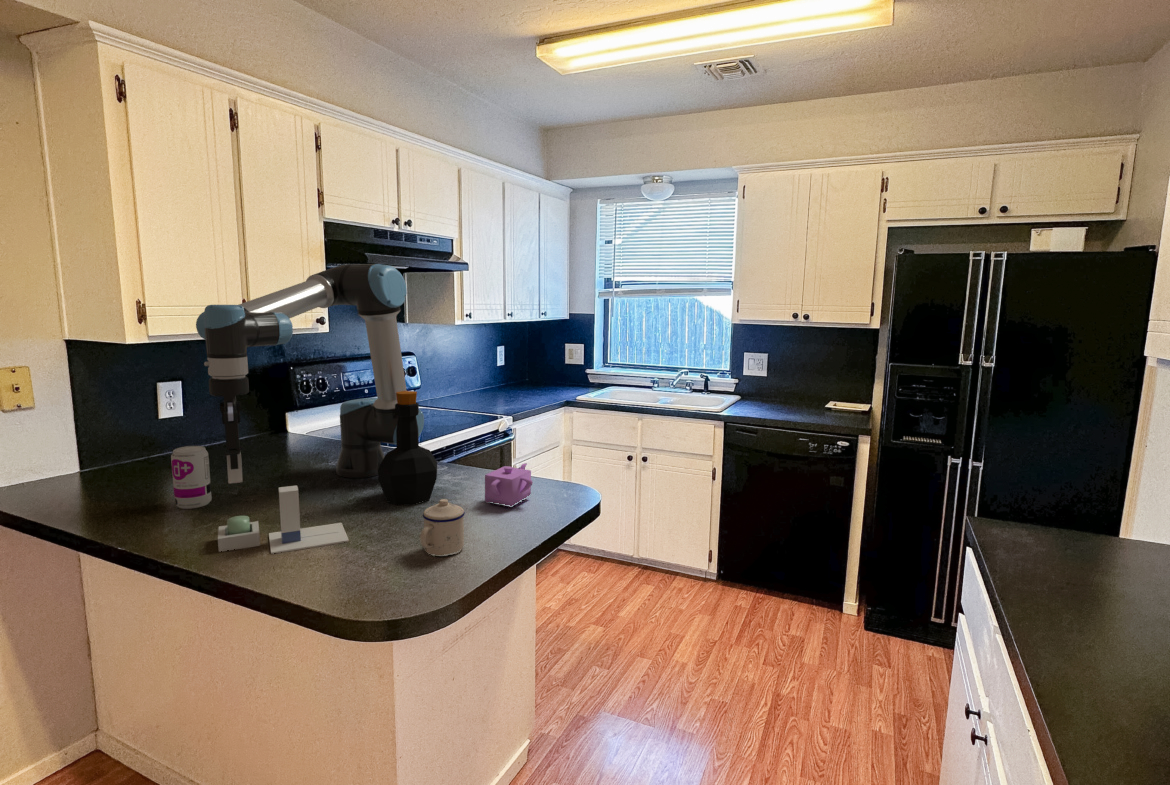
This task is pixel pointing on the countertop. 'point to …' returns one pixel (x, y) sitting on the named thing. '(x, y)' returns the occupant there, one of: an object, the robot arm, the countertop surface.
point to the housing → (238, 538)
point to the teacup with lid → (443, 528)
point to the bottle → (407, 458)
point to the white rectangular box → (289, 514)
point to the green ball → (238, 525)
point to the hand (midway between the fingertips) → (235, 480)
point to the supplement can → (191, 477)
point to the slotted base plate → (310, 538)
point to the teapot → (508, 485)
